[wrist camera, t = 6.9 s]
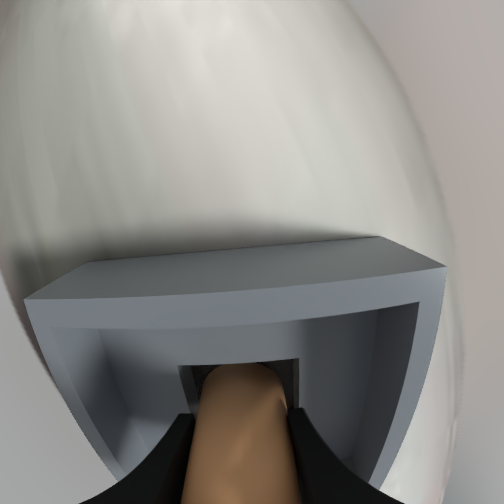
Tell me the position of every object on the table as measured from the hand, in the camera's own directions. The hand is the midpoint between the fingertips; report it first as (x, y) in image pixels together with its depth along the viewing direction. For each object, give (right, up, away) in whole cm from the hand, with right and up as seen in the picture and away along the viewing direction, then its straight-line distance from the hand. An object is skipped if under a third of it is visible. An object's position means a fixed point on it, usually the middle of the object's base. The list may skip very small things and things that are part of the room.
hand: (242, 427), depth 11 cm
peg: (0, +1, +2) cm, 2 cm away
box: (0, +1, +3) cm, 3 cm away
